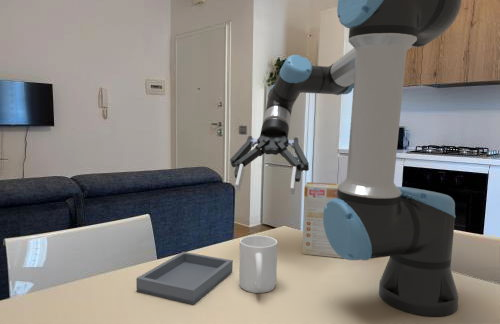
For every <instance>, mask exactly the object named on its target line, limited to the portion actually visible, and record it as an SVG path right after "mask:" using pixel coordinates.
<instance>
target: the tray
mask: <svg viewBox="0 0 500 324" xmlns="http://www.w3.org/2000/svg"><path fill="white" fill-rule="evenodd" d="M233 264H234V263H233V260H231V259H227V258H221V257H216V256H210V255H203V254H199V253H193V252H187V251H182V252H180V253H178V254H177V255H174V256H173V257H171V258H170V259H167V260H166V261H164V262H163V263H161V264H159V265H157V266H155V267H153V268H151V269H150V270H148V271H146V272H145V273H142V274H141V275H139V276H138V277H136V278H135V279H136V281H135V282H136V283H135V284H136V292H137V293H141V294H146V295H149V296H153V297H157V298H161V299H167V300H170V301H174V302H179V303H183V304H188V305H192V306H195V304H196V303H198V302H199V301H200V300H201V299H202V298H203V297H205V296H206V295H207V294H209V292H211V291H212V290H213V289H214V288H215V287H217V286H218V285H219V284H220V283H222V282H223V281H224V280H225V279H226V278H227V277H229V276H230V275H231V274H232V273H233Z"/></svg>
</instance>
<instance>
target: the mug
mask: <svg viewBox="0 0 500 324" xmlns="http://www.w3.org/2000/svg"><path fill="white" fill-rule="evenodd" d="M277 264H278V240H277V239H276V238H274V237H271V236H268V235H248V236H244V237H242V238H240V239H239V265H238V266H239V268H238V269H239V274H238V275H239V278H238V279H239V281H238V282H239V285H240V287H241V288H242V290H243V291H246V292H249V293H253V294H263V293H268V292H271V291H272V290H274V289H275V288H276V286H277V268H278V267H277V266H278V265H277Z"/></svg>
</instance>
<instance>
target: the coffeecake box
mask: <svg viewBox="0 0 500 324" xmlns="http://www.w3.org/2000/svg"><path fill="white" fill-rule="evenodd" d="M340 184H341V183H330V182H329V183H327V182H326V183H325V182H306V184H305V185H304V190H303V192H304V194H303V195H304V196H303V225H302V227H303V228H302V229H303V230H302V255H307V256H309V255H310V256H320V257H329V258H330V257H331V258H339V259H343V258H342V257H341V256H339V255H338V254H337V253H336V252H335V251H334V249H333V248H332V246H331V245H330V243H329V240H328V239H327V236H326V233H325V229H324V224H323V212H324V208H325V206H326V204H327V203H328V202H329V201H330V200H332V199H334V198H337V190H338V185H340Z"/></svg>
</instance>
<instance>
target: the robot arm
mask: <svg viewBox="0 0 500 324" xmlns="http://www.w3.org/2000/svg"><path fill="white" fill-rule="evenodd" d="M461 6H462V0H337V6H336V8H337V9H336V12H337V17H338V19H339V20H338V21H339V23H340V24H341V25H342V26H344V27H345V28H347V29H349V30H348V31H349V32H348V43H349V44H350V45H351V47H353V48H351V49H350V50H348V52H346V53H345V54H343V55H342V57H340V58H339V59H336V61H334V63H332V64H331V65H329V66H321V65H312V64H313V63H311V62H310V60H309V59H308V58H307V57H306V56H303V57H302V56H301V54H300V55H299V54H292V55H289V56H287V58H286V59H285V61H284V63H283V64H282V66H281V68H280V69H279V74H278V76H277V78H276V81H275V82H274V84H273V85H271V87H270V88H269V92H268V95H267V101H266V106H265V111H264V116H263V120H262V126H261V129H260V135H259V137H258V138H253V136H252V135H249V136H247V139H246V141H245V142H244V144H243V145H241V147H239V149H238V150H237V151H236V152H235V153H234V154H233V156H231V158H230V160H229V161H230V164H231V168H234V169H235V170H234V173H233V174H234V177H235V179H236V180H235V184H234V185H235V188H236V189H235V190H236V191H238V192H240V191H241V188H242V183H243V180H244V175H245V167H246V166H248V165H249V164H251V163H252V162H253V161H254V160H256V159H257V158H258V157H262V156H263V155H273V156H274V155H275V156H277V155H279V154H280V155H281V157H283V158H284V159H285V160H286V161H287V163H289V165H290V166H291V167H292V171H291V173H292V174H291V180H290V187H289V188H290V195H295V192H296V191H295V190H296V182H297V183H298V182H300V181H301V179H302V177H301V176H302V172H303V171H305V172H308V171H309V169H310V167H309V166H310V165H309V164H310V163H309V161H308V158H306V156H305V153H304V151H303V150H302V148H301V146H300V144H299V138H298V137H294V138H293V139H288V138H289V132H290V124H291V117H292V112H293V107H294V105H295V102H296V101H297V99H298V97H299V95H300V94H301V93H302V94H303V93H304V94H321V95H336V96H340V95H348V94H350V93H352V100H351V101H352V105H351V115H350V116H351V117H350V129H349V141H348V142H349V143H348V153H347V165H346V166H347V168H346V169H347V170H346V177H345V179H344V180H342V182H341V183H339V184H340V185H338V190H337V198H334V199H332V200H330V201H329V202H328V203H327V204H326V206H325V208H324V212H323V224H324V229H325V233H326V236H327V239H328V240H329V243H330V245H331V246H332V248H333V249H334V251H335V252H336V253H337V254H338V255H339V256H341V257H342V258H341V259H344V260H347V261H358V260H361V261H368V260H372V259H377V258H385V257H388V260H387V263H386V265H385V268H384V270H383V273H382V275H381V277H380V279H379V283H378V284H379V285H378V294H379V297H381V299H382V300H383V301H384V302H385V303H386V304H388V305H390V306H392V307H393V308H395V309H396V308H397V309H398V310H401V311H403V312H406V313H410V314H413V315H414V314H415V315H419V316H427V317H444V316H449V315H453V314H454V313H455V312H456V311H457V310H458V307H459V305H458V304H459V294H458V290H457V288H456V287H457V286H456V283H455V280H454V277H453V274H452V267H451V266H452V255H453V253H452V252H453V244H454V233H455V232H454V231H455V222H456V217H457V216H456V209H455V208H456V203H455V200H454V199H453V197H452V196H450V195H448V194H446V193H445V194H444V193H441V192H436V191H431V190H426V189H420V188H414V187H407V186H397V185H396V184H395V174H396V173H395V172H396V162H397V152H398V142H399V131H400V123H401V122H400V121H401V109H402V101H403V93H404V91H403V89H404V80H405V70H406V61H407V59H406V58H407V51H408V50H410V49H412V48H421V47H425V46H426V45H427V44H429V43H431V42H433V41H434V40H437V38H439V37H440V36H442V35H443V34H444V33H446V31H447V30H448V29H449V28H450V27H451V26H452V25H453V24H454V22H455V20H456V19H457V17H458V16H459V13H460V10H461ZM289 146H290V148H292V149H293V150H294V153H295V155H296V156H297V158H296V157H295V156H294V155H293V154H292V153H291V152H290V150H289V149H288V147H289ZM297 159H298V160H297Z"/></svg>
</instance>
